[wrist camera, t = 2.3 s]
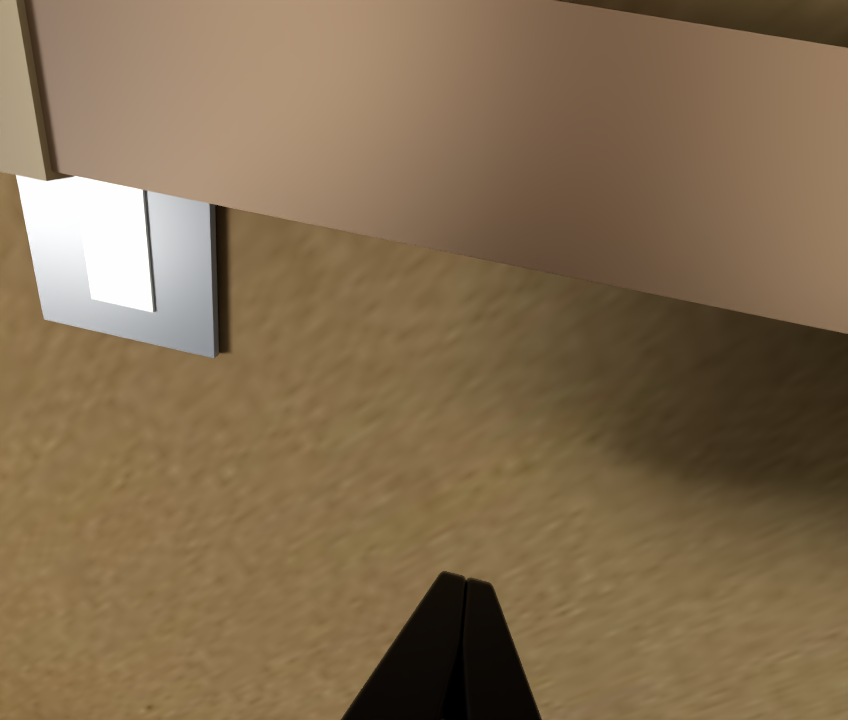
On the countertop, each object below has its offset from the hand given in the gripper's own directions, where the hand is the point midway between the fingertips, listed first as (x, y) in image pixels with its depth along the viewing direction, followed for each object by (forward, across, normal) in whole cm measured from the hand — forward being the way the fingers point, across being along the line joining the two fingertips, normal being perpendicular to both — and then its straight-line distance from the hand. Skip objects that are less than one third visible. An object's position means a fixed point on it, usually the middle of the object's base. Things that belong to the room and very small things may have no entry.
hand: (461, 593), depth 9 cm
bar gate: (+2, 0, -7) cm, 7 cm away
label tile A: (+3, +8, -4) cm, 10 cm away
